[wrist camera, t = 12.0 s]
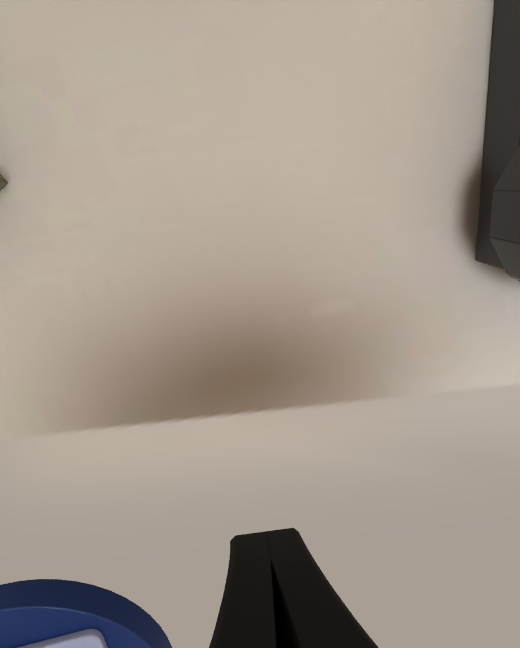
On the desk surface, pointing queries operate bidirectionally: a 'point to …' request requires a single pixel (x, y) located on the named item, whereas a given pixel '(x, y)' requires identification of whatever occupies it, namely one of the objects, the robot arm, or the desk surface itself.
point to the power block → (502, 147)
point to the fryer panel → (2, 182)
